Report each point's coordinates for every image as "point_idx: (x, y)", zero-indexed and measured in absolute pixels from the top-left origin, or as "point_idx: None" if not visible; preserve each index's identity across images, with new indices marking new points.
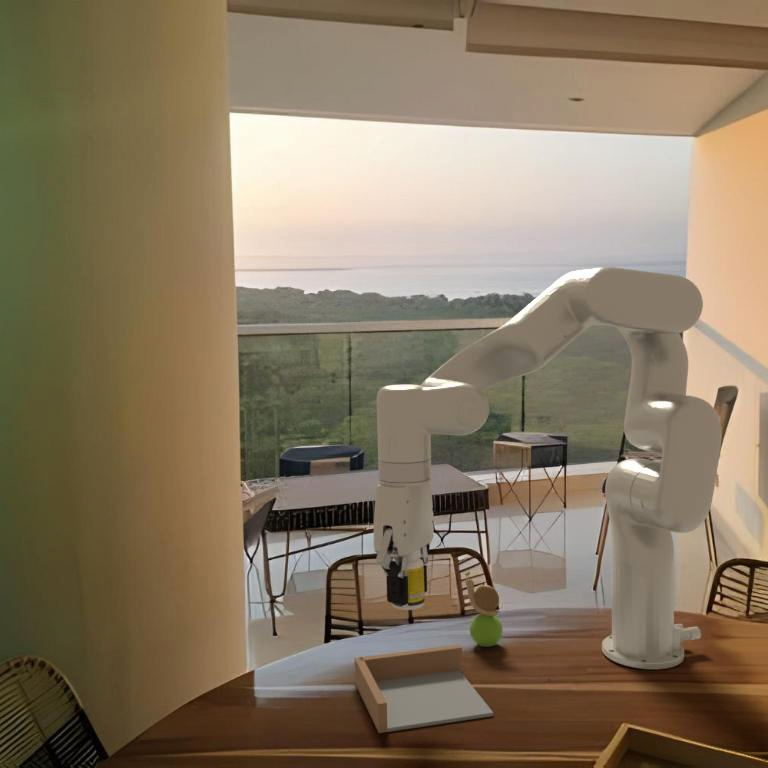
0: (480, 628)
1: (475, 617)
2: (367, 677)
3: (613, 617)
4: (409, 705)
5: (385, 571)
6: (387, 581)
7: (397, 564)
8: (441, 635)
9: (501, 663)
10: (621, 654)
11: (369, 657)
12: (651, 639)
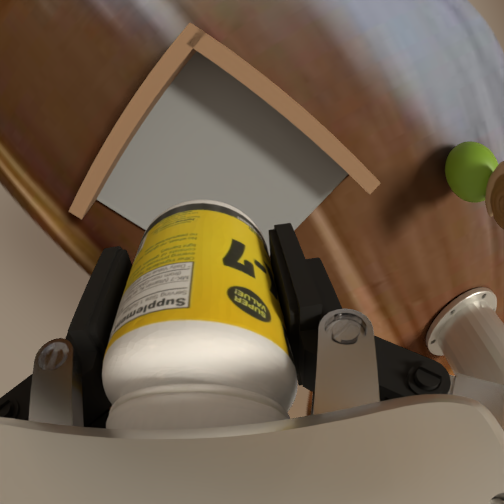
0: (460, 178)
1: (484, 163)
2: (125, 118)
3: (478, 337)
4: (174, 179)
5: (26, 380)
6: (81, 307)
7: (112, 403)
8: (465, 73)
9: (406, 210)
10: (444, 322)
11: (213, 48)
12: (447, 360)
